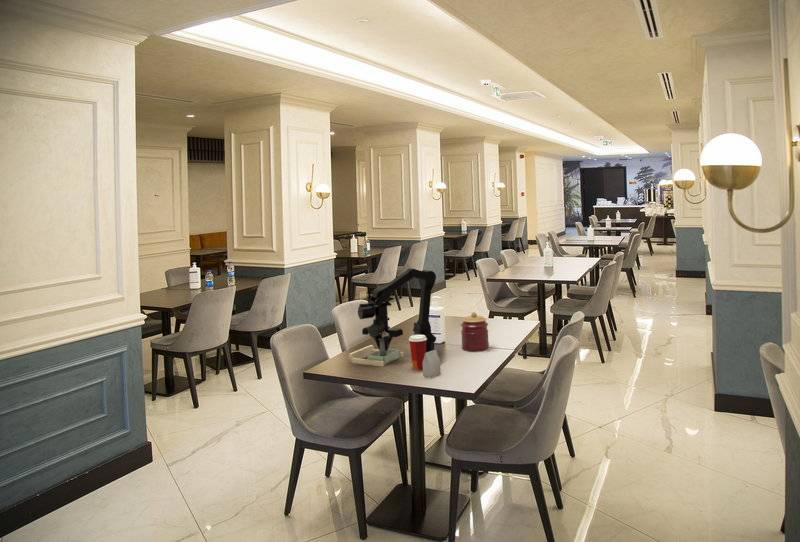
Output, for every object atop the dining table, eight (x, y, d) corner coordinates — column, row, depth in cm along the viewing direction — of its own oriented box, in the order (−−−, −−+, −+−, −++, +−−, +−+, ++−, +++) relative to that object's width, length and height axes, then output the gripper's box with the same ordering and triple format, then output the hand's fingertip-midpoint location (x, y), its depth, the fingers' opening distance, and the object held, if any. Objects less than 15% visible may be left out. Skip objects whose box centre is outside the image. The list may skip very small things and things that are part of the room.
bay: (403, 357, 263) (403, 347, 262) (382, 368, 248) (381, 357, 247) (371, 354, 272) (371, 344, 272) (349, 364, 257) (348, 354, 257)
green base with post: (399, 357, 261) (398, 335, 260) (384, 364, 250) (383, 341, 249) (383, 355, 266) (382, 334, 265) (367, 362, 255) (366, 340, 254)
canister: (458, 351, 270) (456, 314, 268) (465, 344, 282) (464, 309, 280) (485, 352, 265) (484, 315, 263) (491, 345, 277) (490, 310, 275)
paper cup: (430, 366, 247) (428, 334, 246) (425, 371, 240) (423, 338, 239) (413, 365, 250) (411, 334, 248) (407, 370, 243) (406, 338, 241)
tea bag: (440, 373, 235) (439, 350, 234) (430, 378, 230) (428, 353, 229) (433, 372, 238) (432, 349, 236) (423, 376, 233) (421, 352, 232)
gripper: (354, 318, 254) (356, 352, 255) (389, 321, 244) (391, 356, 246) (368, 313, 263) (370, 346, 265) (402, 316, 253) (404, 350, 255)
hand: (383, 350), depth 257 cm, fingers closed on green base with post, 3 cm apart
